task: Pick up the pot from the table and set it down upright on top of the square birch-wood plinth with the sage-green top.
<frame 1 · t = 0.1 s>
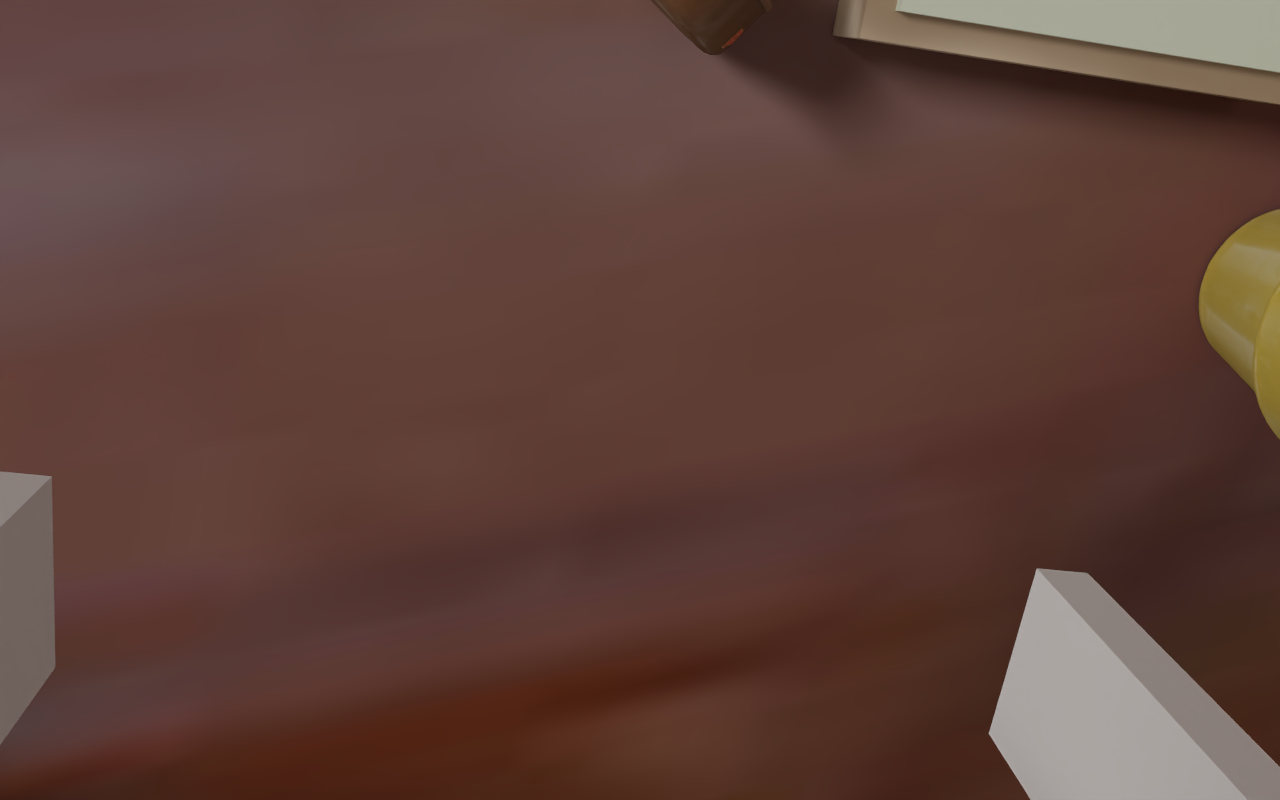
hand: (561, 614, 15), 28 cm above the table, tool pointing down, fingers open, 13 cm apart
plant pot: (1272, 290, 45), on the table
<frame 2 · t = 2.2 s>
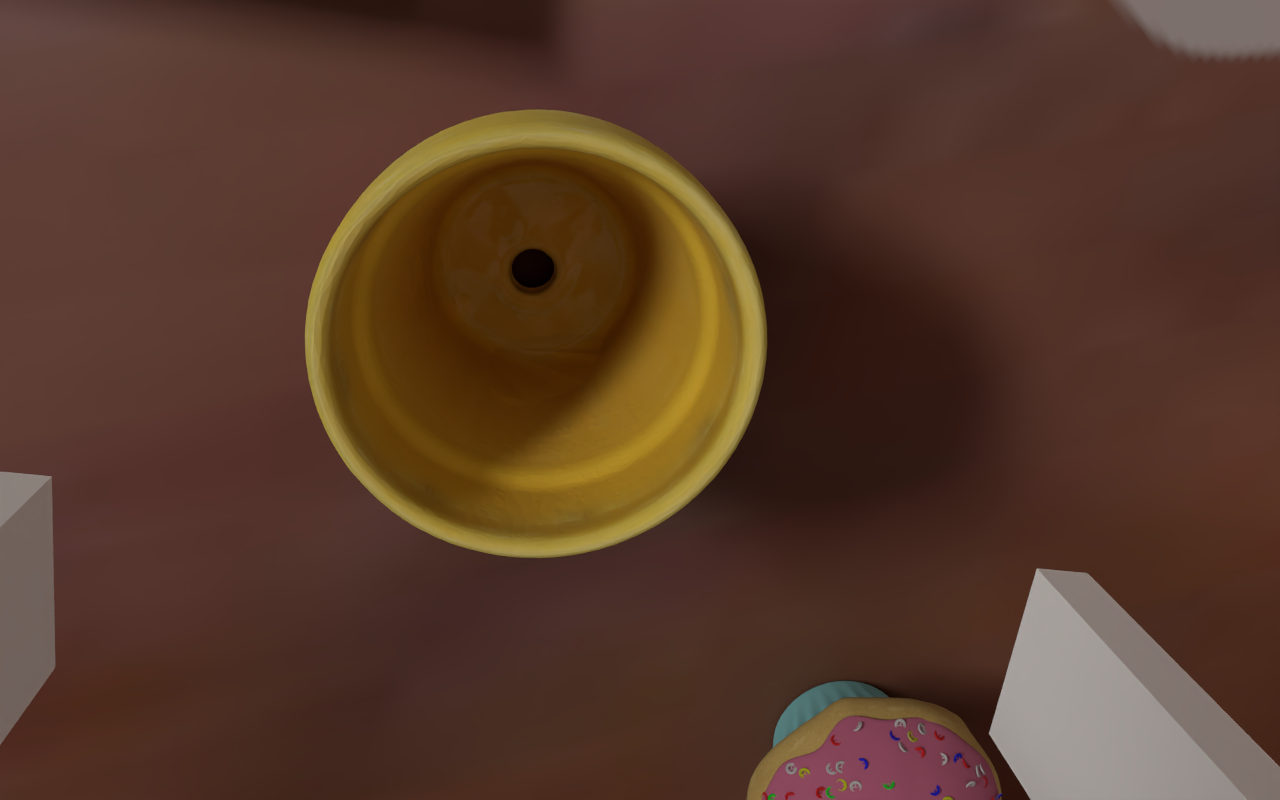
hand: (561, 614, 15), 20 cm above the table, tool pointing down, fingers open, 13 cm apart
cupcake: (836, 727, 41), on the table
plant pot: (535, 259, 34), on the table
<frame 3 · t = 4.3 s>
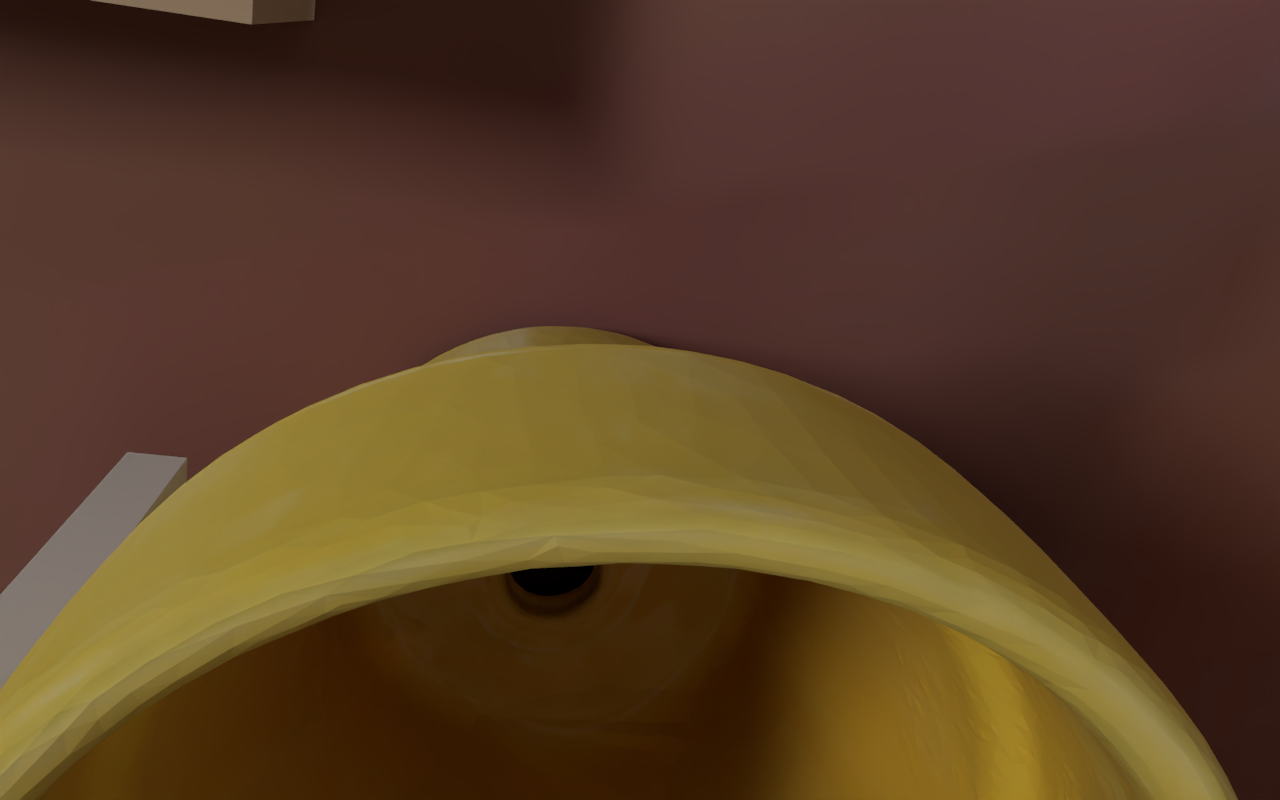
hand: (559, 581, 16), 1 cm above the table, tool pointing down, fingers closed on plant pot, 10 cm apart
plant pot: (556, 533, 17), on the table, touching gripper
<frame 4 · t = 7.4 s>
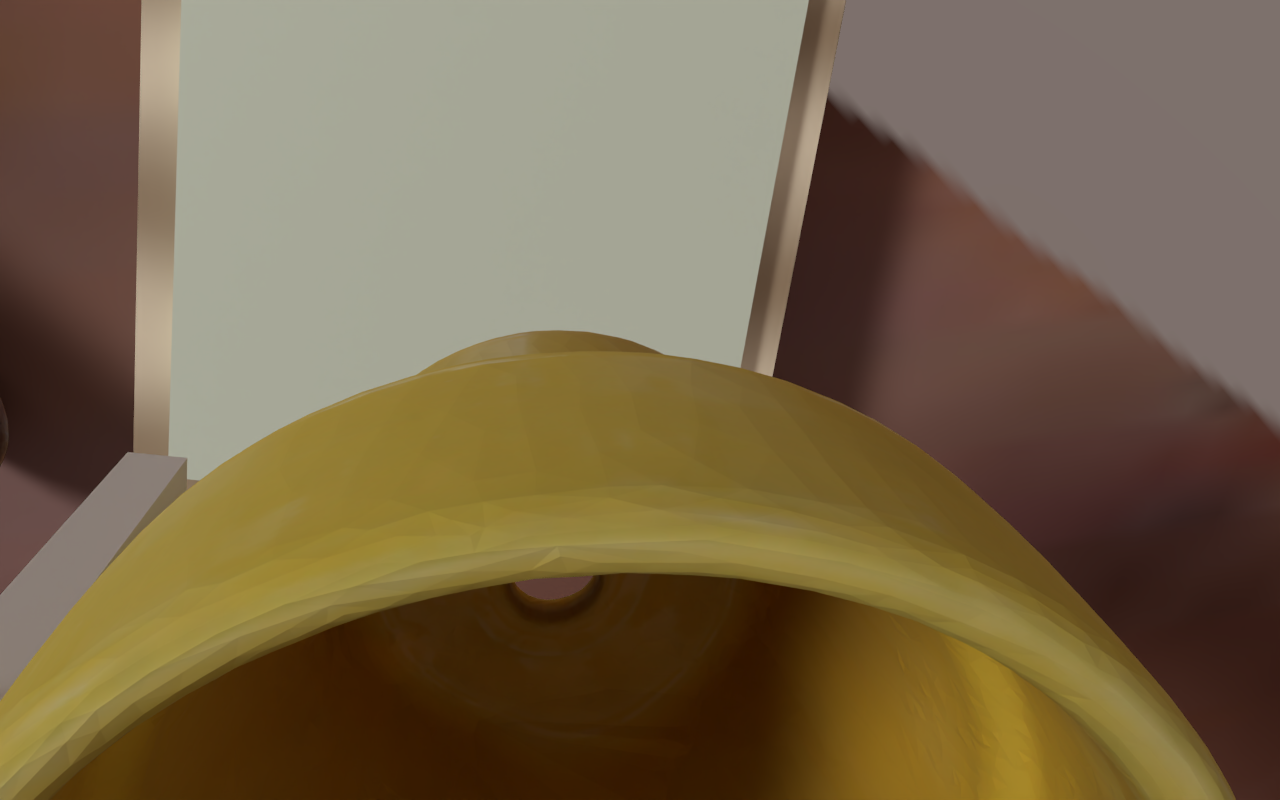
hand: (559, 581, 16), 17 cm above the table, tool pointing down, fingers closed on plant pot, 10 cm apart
plinth: (483, 215, 31), on the table
plant pot: (557, 537, 17), point 15 cm above the table, touching gripper
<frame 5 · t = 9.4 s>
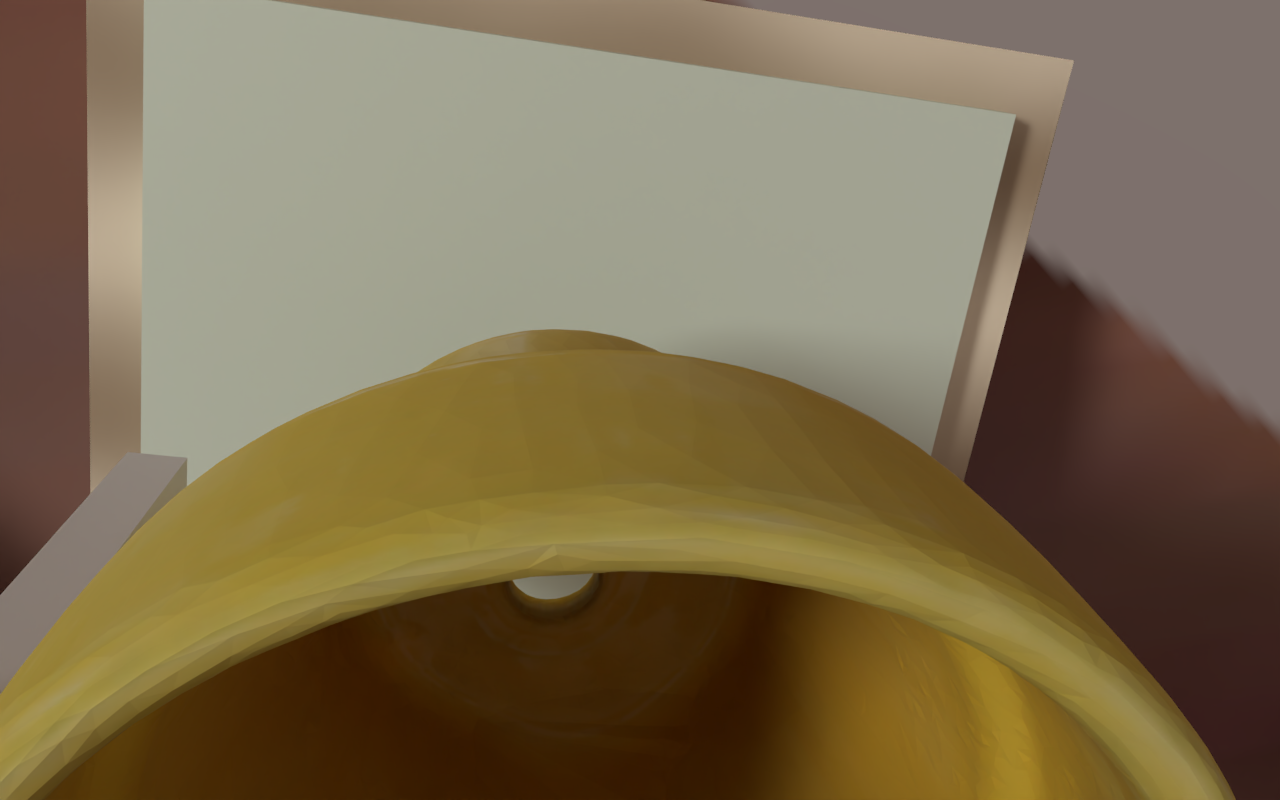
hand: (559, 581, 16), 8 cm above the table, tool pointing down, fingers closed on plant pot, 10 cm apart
plinth: (546, 384, 24), on the table
plant pot: (556, 536, 17), point 7 cm above the table, touching gripper
when the fingers open (7 cm above the table, at t = 10.8 s): plant pot drops 1 cm, resting on plinth.
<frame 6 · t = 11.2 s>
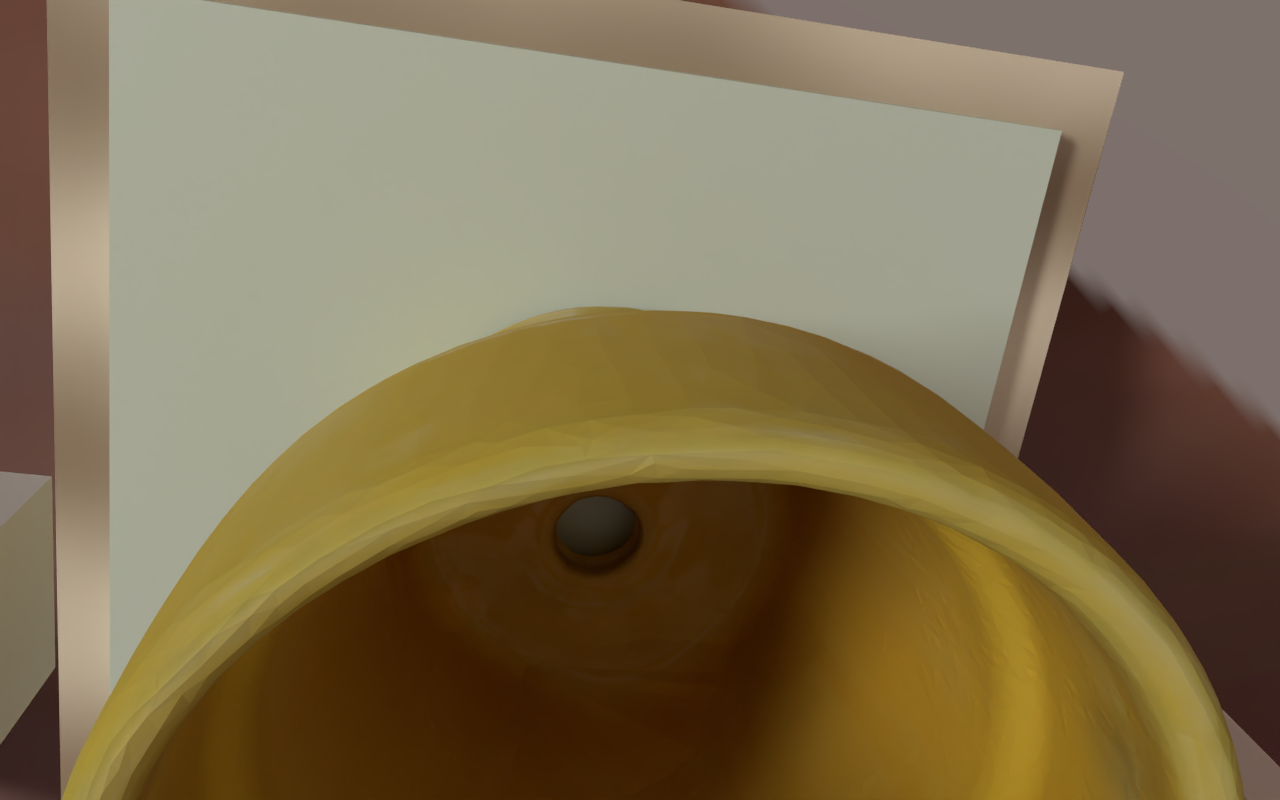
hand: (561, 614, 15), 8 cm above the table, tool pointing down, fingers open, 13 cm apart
plinth: (549, 417, 22), on the table
plant pot: (598, 499, 19), point 4 cm above the table, touching plinth
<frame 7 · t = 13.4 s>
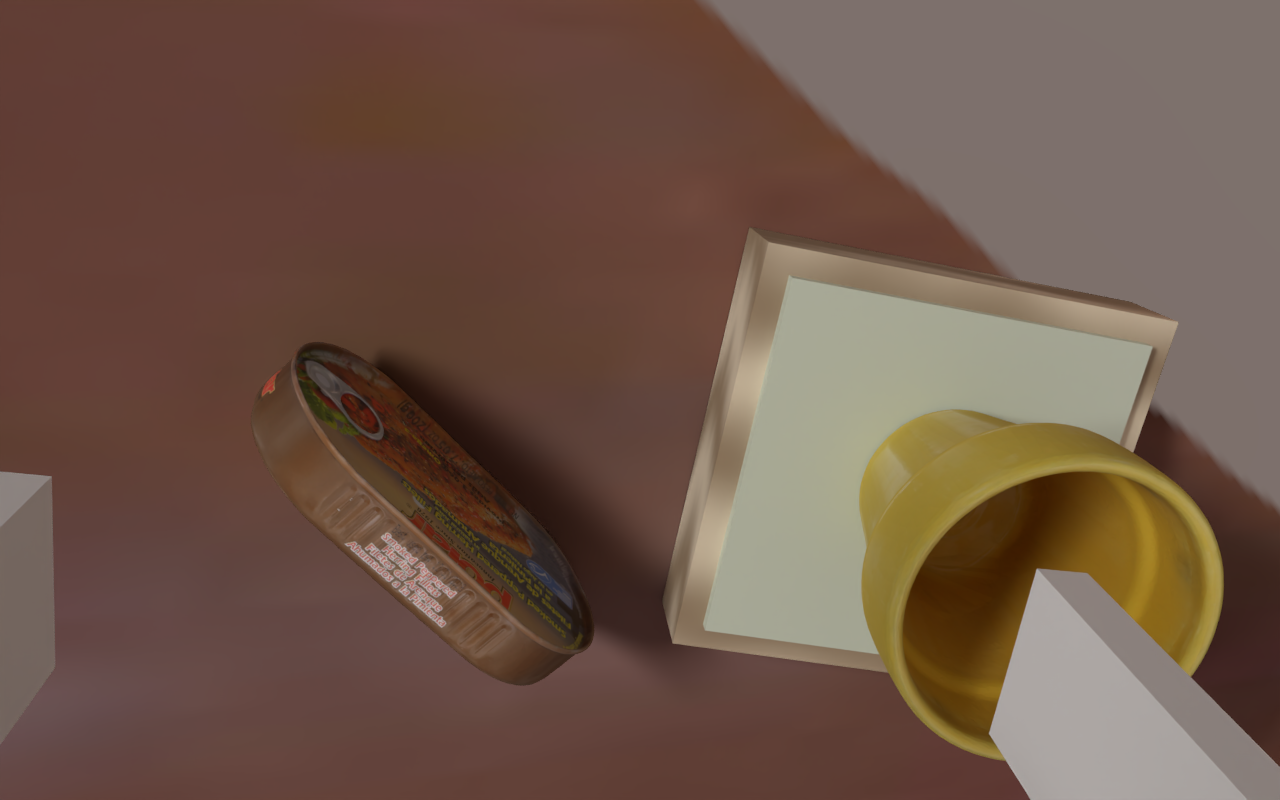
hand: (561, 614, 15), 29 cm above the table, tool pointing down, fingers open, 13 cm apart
tin: (438, 474, 45), on the table
plinth: (891, 454, 46), on the table
plant pot: (941, 492, 43), point 4 cm above the table, touching plinth
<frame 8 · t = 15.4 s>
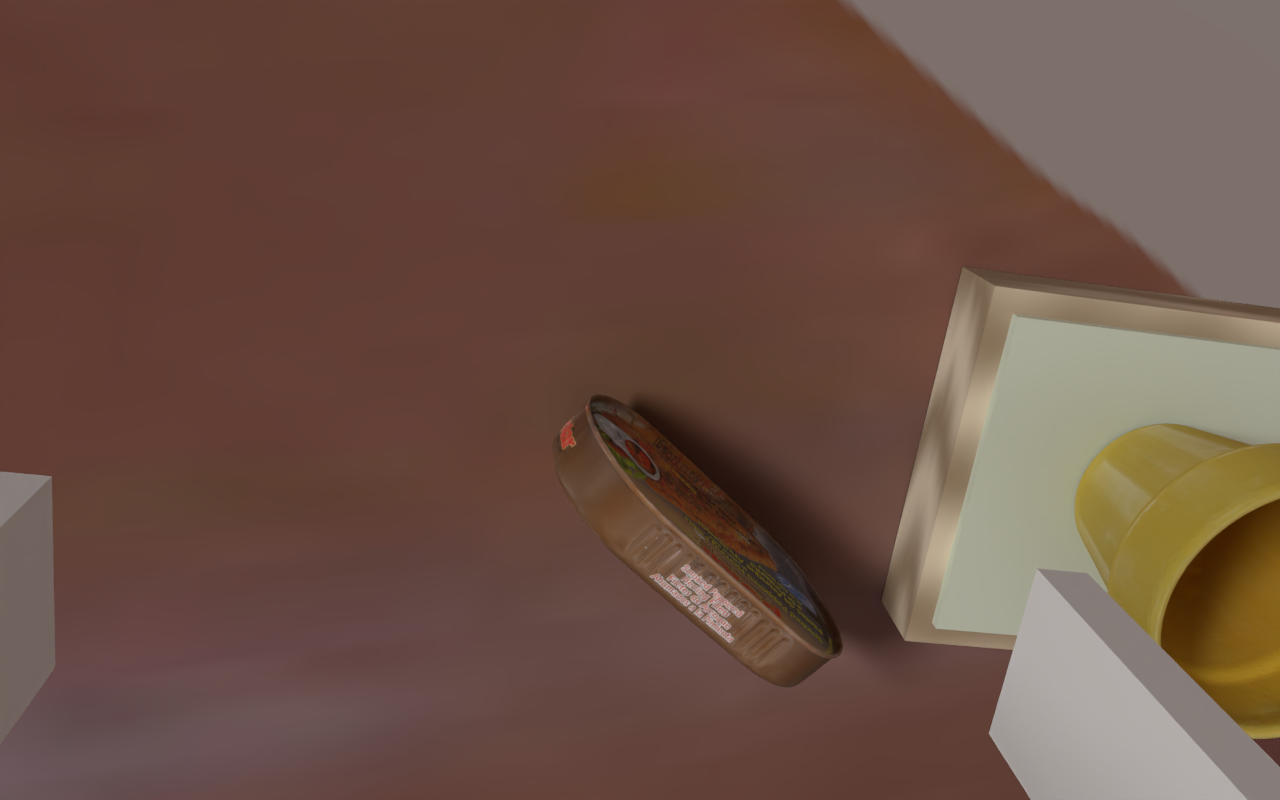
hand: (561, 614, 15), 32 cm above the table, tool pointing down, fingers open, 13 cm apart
tin: (684, 499, 50), on the table
plinth: (1087, 460, 51), on the table
plant pot: (1145, 496, 47), point 4 cm above the table, touching plinth
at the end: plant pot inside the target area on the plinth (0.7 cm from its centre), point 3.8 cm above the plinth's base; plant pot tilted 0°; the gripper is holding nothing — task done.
